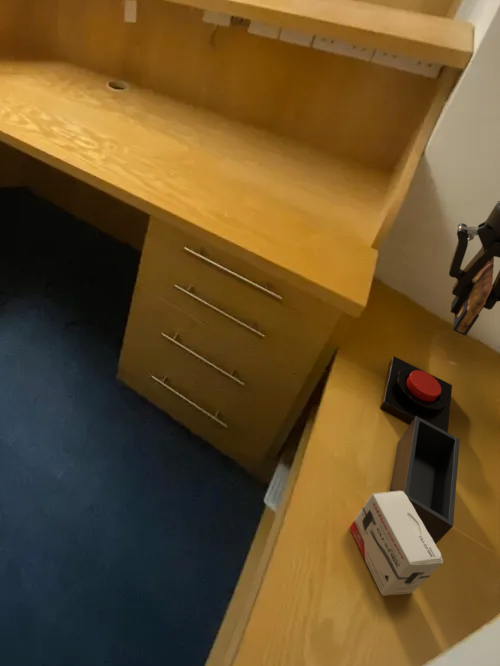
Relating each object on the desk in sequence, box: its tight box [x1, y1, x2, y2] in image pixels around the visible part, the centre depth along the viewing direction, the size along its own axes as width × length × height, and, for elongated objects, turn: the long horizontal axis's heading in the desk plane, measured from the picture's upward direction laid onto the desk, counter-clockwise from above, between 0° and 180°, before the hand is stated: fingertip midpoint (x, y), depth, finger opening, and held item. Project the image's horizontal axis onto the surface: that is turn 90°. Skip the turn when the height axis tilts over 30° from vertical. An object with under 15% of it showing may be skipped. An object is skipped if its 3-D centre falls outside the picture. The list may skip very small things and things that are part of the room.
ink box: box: [349, 491, 444, 597], centre depth 74 cm, size 8×5×12 cm, turn 5°
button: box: [406, 370, 441, 402], centre depth 95 cm, size 5×5×2 cm
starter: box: [379, 355, 453, 433], centre depth 97 cm, size 12×10×4 cm
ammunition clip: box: [452, 256, 495, 337], centre depth 88 cm, size 11×2×12 cm, turn 141°
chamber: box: [388, 416, 461, 546], centre depth 82 cm, size 6×15×8 cm, turn 142°
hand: (462, 311), depth 90 cm, fingers closed on ammunition clip, 2 cm apart
